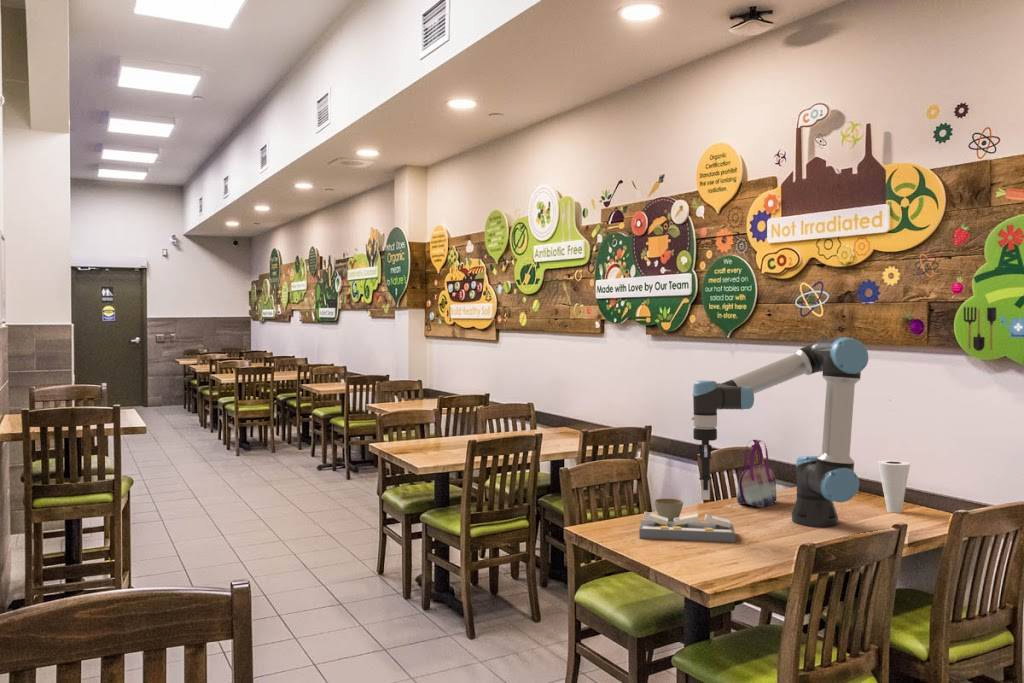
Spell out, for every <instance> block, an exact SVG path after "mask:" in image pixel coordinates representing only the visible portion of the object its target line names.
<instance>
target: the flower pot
mask: <svg viewBox="0 0 1024 683" xmlns="http://www.w3.org/2000/svg"><path fill="white" fill-rule="evenodd" d="M653 502H654V506H655V510H656V512H657V515H659V516H662V517H665V518H668V521H673V522H674V518H677V517H680V515H681V513H682V510H683V505H684V501H683V500H681V499H677V498H664V497H663V498H657V499H655V500H653Z"/></svg>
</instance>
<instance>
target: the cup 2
mask: <svg viewBox="0 0 1024 683" xmlns="http://www.w3.org/2000/svg"><path fill="white" fill-rule="evenodd" d="M877 465H878V470H879V476H880V481H881V486H882V491H883V495H884V502H885V506H886V511H887V512H888V513H894V514H901V513H903V512H902V511H903V505H904V500H905V495H906V489H907V483H908V479H909V473H910V467H911V466H910V465H911V462H908V461H903V460H895V459H894V460H888V459H887V460H878V461H877Z"/></svg>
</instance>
